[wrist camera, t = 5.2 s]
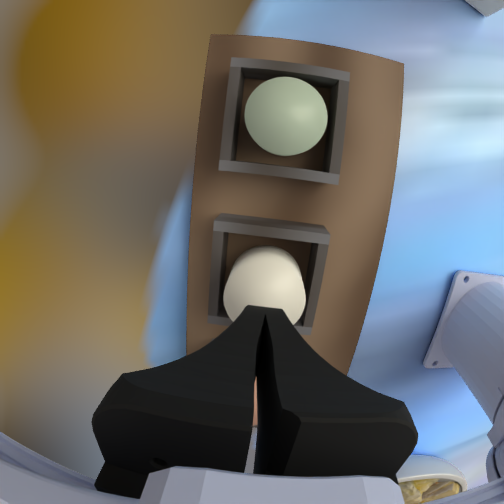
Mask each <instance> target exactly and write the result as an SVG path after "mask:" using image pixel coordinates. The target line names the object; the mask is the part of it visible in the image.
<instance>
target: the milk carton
mask: <svg viewBox="0 0 504 504" xmlns="http://www.w3.org/2000/svg"><path fill="white" fill-rule="evenodd" d="M465 1H466V2H467V3H469V4H470V5H471V6H473V7H474V8H475V9H476V10H478V11H479V12H480V13H481V14H483V15H484V16H485V17H488V16H490V15H491V14H493V13H495V12H497V11H499V10H501V9H503V8H504V0H465Z"/></svg>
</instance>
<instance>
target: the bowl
mask: <svg viewBox="0 0 504 504" xmlns="http://www.w3.org/2000/svg"><path fill="white" fill-rule="evenodd" d="M396 476H397V479H398V483H399V486H400V489H401V492H402V496H403V499H404V503H405V504H421V503H425V502H430V501H433V500H437V499H441V498H444V497H448V496H451V495H455V494H458V493H461V492H464V491H467V482H466V480H465V477H464V475H463V474H462V472H461V471H460V470H459V469H458V468H457V467H456V466H455V465H454V464H452V463H450V462H448V461H446V460H444V459H441V458H437V457H433V456H426V455H410V456H409V457H408V459H407V460H406V461H405V463H404V464H403V465H402V467H401V468H400V469H399V471H398V472H397V473H396Z"/></svg>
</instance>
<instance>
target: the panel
mask: <svg viewBox="0 0 504 504" xmlns="http://www.w3.org/2000/svg"><path fill="white" fill-rule="evenodd" d="M277 77H292V78H297V79H300V80H302V81H304V82H306V83H308V84H310V85H311V86H312V87H313V88H315V89H316V90H317V91H318V93H319V94H320V95H321V97H322V99H323V100H324V103H325V105H326V109H327V116H328V117H327V126H326V129H325V132H324V134H323V136H322V137H321V139H320V140H319V141H318V143H317V144H316V145H314V146H313V147H312V148H310V149H309V150H307V151H305V152H303V153H300V154H296V155H292V156H278V155H274V154H271V153H269V152H267V151H265V150H264V149H262V148H261V147H260V146H259V145H258V144H257V143H256V142H255V141H254V140H253V138H252V137H251V135H250V134H249V132H248V129H247V127H246V123H245V107H246V103H247V100H248V98H249V96H250V95H251V93H252V92H253V91H254V90H255V89H256V88H257V87H258V86H259V85H260V84H262V83H264V82H265V81H267V80H270V79H273V78H277ZM403 83H404V64H403V63H400V62H397V61H393V60H390V59H386V58H383V57H379V56H375V55H371V54H367V53H363V52H359V51H355V50H350V49H345V48H340V47H335V46H330V45H325V44H319V43H313V42H306V41H299V40H291V39H283V38H273V37H262V36H247V35H213V34H211V37H210V43H209V50H208V56H207V63H206V70H205V77H204V85H203V93H202V101H201V110H200V117H199V127H198V136H197V145H196V156H195V167H194V178H193V191H192V205H191V220H190V237H189V257H188V283H187V334H186V356H187V355H189V354H191V353H193V352H195V351H197V350H199V349H201V348H202V347H204V346H205V345H207V344H208V343H210V342H211V341H212V340H214V339H215V338H216V337H217V336H219V335H220V334H221V333H222V332H223V331H224V330H226V329H227V328H228V327H229V326H230V325H231V324H232V323H233V321H232V320H231V319H230V317H229V316H228V314H227V312H226V310H225V306H224V300H223V295H224V290H225V286H226V283H227V281H228V278H229V275H230V273H231V270H232V267H233V265H234V263H235V261H236V260H237V258H238V257H239V256H240V255H241V254H242V253H243V252H245V251H246V250H248V249H250V248H253V247H256V246H260V245H271V246H276V247H279V248H281V249H283V250H285V251H286V252H288V253H289V254H290V255H291V256H292V257H293V258H294V259H295V260H296V262H297V264H298V266H299V269H300V272H301V276H302V281H303V285H304V289H305V295H306V302H305V307H304V310H303V313H302V315H301V316H300V318H299V319H298V321H297V322H296V323H295V324H294V325H293V326H294V327H295V328H296V330H297V331H298V332H299V334H300V335H301V336H302V337H303V339H304V340H305V341H306V342H307V343H308V344H309V345H310V346H311V347H312V349H313V350H314V351H315V352H316V353H318V354H319V355H320V356H321V357H322V358H323V359H324V360H326V361H327V362H328V363H329V364H330V365H332V366H333V367H334V368H336V369H337V370H339V371H340V372H342V373H343V374H345V375H346V376H347V373H348V370H349V367H350V364H351V361H352V358H353V355H354V352H355V349H356V346H357V343H358V340H359V336H360V333H361V330H362V326H363V323H364V319H365V316H366V312H367V309H368V305H369V301H370V297H371V294H372V290H373V286H374V282H375V278H376V273H377V269H378V265H379V260H380V256H381V251H382V247H383V242H384V237H385V232H386V227H387V222H388V216H389V211H390V205H391V199H392V193H393V186H394V179H395V172H396V165H397V157H398V148H399V139H400V128H401V116H402V102H403ZM253 427H257V425H253Z"/></svg>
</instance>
